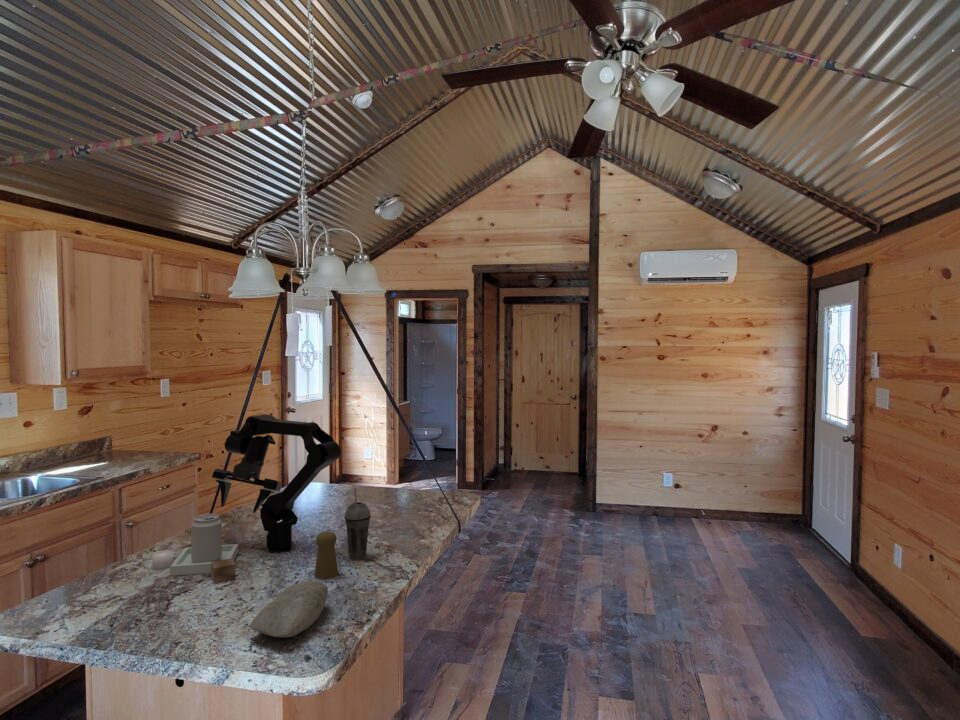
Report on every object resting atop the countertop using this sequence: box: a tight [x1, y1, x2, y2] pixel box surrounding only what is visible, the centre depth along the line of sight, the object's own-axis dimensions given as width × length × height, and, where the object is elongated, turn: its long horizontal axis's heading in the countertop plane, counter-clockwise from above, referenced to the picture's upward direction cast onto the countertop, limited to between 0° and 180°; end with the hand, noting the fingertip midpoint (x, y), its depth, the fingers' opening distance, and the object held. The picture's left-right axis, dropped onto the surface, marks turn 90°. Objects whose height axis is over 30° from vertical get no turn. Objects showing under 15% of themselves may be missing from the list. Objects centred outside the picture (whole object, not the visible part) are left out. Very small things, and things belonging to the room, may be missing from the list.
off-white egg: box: [151, 549, 175, 570], centre depth 153 cm, size 5×5×4 cm
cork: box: [313, 531, 339, 580], centre depth 148 cm, size 6×6×11 cm
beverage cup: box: [344, 487, 372, 561], centre depth 160 cm, size 7×7×20 cm
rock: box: [249, 580, 329, 638], centre depth 122 cm, size 8×11×20 cm
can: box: [190, 513, 223, 563], centre depth 155 cm, size 8×8×12 cm
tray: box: [169, 543, 239, 577], centre depth 155 cm, size 14×14×2 cm
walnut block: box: [210, 558, 236, 584], centre depth 146 cm, size 5×5×4 cm
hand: (238, 509), depth 164 cm, fingers open, 9 cm apart
